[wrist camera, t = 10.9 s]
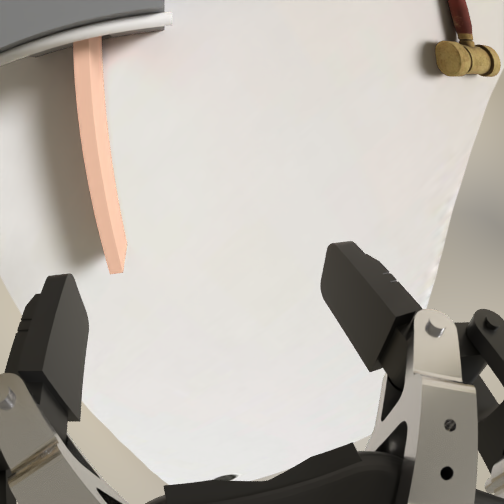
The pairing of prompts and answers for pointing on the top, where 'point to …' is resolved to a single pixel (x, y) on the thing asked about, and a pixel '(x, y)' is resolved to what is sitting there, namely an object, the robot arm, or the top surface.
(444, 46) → the gavel
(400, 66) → the top surface
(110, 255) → the ticket strip
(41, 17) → the dispenser
